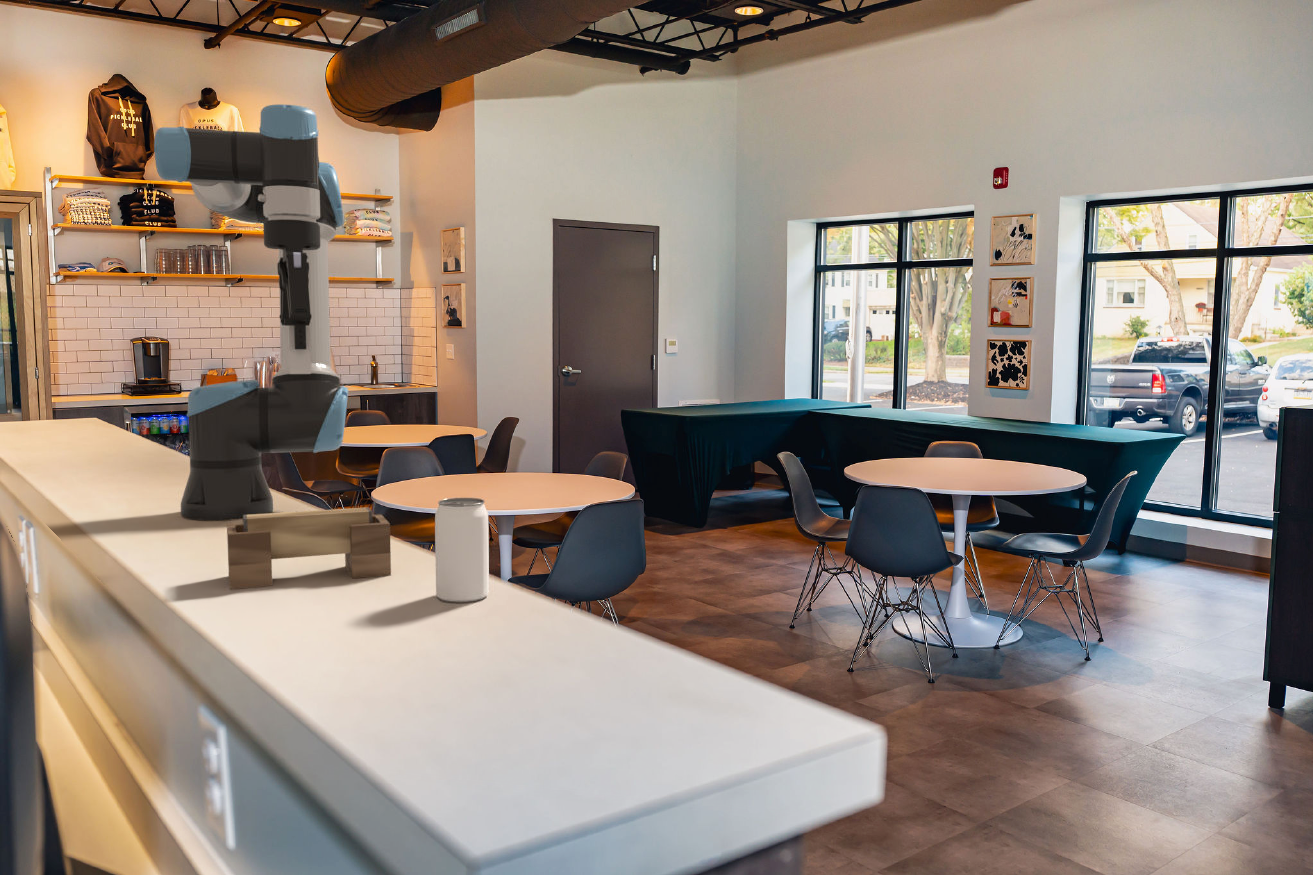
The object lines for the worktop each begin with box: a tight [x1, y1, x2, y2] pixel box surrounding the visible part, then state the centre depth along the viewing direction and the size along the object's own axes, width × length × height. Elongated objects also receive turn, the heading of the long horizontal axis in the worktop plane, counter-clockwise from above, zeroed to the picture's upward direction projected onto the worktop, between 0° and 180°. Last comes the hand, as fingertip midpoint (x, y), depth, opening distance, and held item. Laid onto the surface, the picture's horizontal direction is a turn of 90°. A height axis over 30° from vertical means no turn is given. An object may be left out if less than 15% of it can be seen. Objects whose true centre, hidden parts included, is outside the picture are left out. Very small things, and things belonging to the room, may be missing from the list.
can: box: [434, 497, 490, 604], centre depth 126 cm, size 6×6×12 cm
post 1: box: [226, 522, 273, 590], centre depth 134 cm, size 7×5×7 cm
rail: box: [242, 506, 373, 560], centre depth 136 cm, size 3×16×6 cm, turn 114°
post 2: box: [344, 513, 392, 579], centre depth 140 cm, size 7×5×7 cm
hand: (296, 372), depth 146 cm, fingers open, 13 cm apart
